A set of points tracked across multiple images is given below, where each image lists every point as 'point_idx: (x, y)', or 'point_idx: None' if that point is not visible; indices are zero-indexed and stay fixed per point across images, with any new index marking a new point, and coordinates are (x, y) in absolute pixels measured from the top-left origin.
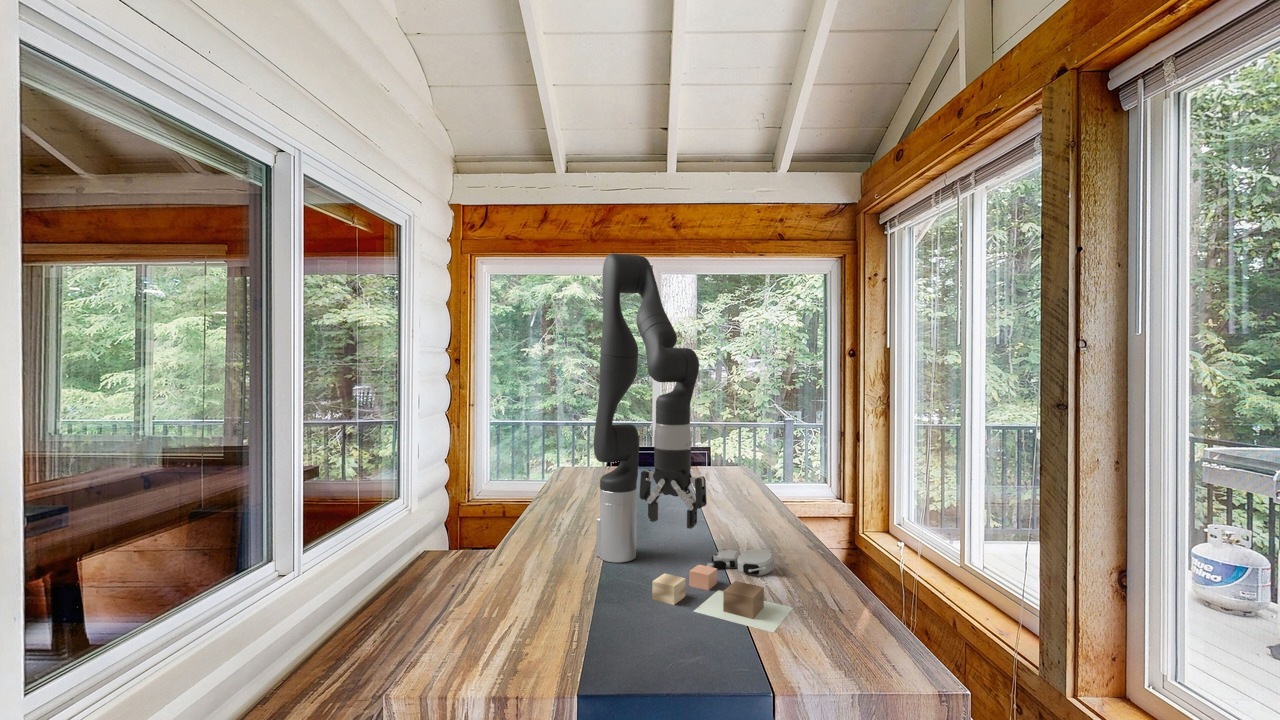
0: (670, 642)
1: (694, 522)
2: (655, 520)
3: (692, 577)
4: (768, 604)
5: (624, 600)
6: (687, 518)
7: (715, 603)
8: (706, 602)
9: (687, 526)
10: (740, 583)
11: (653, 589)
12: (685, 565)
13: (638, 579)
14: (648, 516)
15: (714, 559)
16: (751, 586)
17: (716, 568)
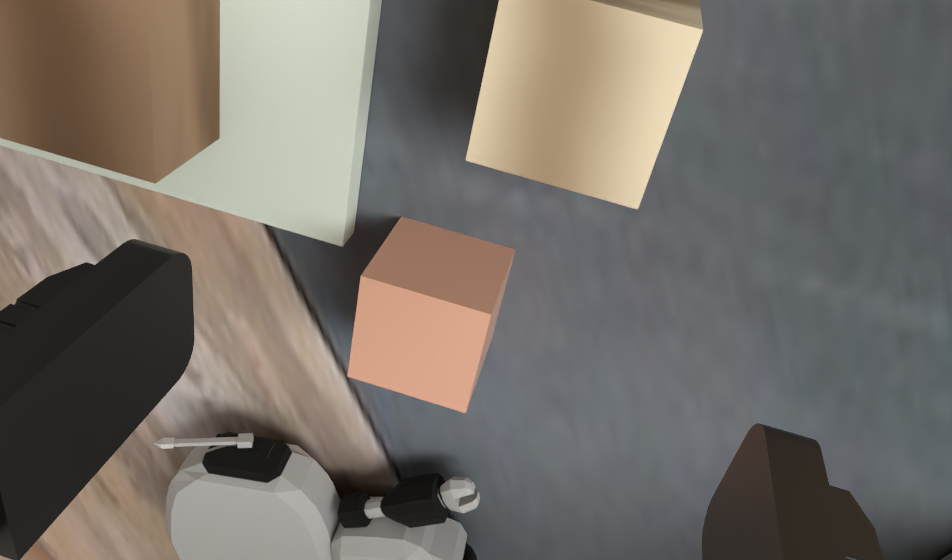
0: None
1: (34, 298)
2: (729, 477)
3: (477, 287)
4: None
5: (923, 3)
6: (78, 320)
7: (298, 66)
8: (348, 62)
9: (162, 256)
10: (112, 149)
11: (691, 14)
12: (611, 531)
13: (857, 340)
14: (861, 518)
15: (452, 547)
16: (42, 123)
17: (351, 376)
